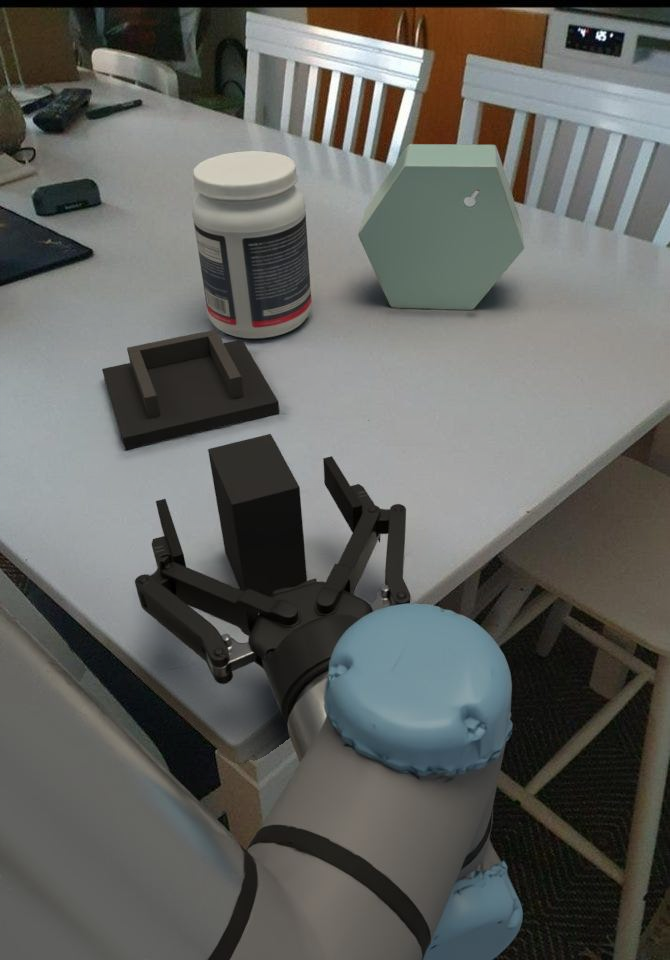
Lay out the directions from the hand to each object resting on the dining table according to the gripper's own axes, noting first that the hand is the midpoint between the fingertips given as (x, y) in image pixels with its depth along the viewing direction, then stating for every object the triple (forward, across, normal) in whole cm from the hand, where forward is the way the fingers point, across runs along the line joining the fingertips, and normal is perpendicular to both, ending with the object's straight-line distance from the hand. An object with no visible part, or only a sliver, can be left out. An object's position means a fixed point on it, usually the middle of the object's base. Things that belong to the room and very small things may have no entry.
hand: (247, 490), depth 64 cm
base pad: (+25, 0, -6) cm, 26 cm away
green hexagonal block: (+36, +34, -7) cm, 50 cm away
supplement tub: (+39, +12, -7) cm, 41 cm away
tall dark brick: (-3, 0, -6) cm, 7 cm away
